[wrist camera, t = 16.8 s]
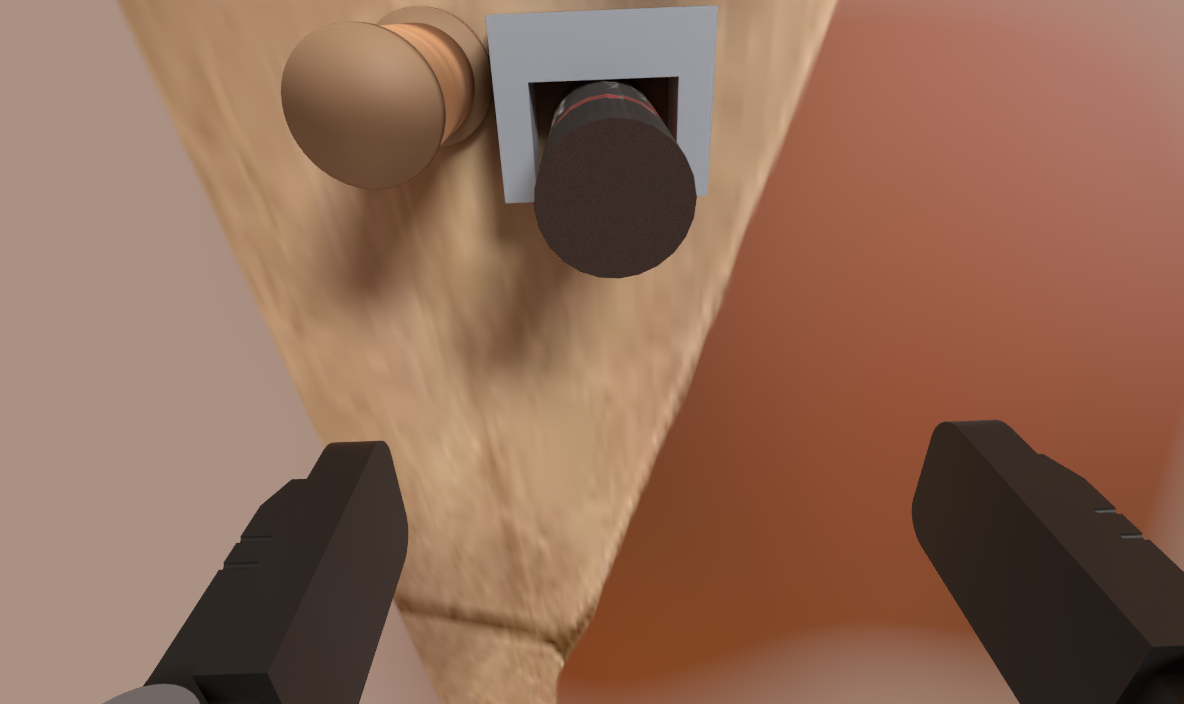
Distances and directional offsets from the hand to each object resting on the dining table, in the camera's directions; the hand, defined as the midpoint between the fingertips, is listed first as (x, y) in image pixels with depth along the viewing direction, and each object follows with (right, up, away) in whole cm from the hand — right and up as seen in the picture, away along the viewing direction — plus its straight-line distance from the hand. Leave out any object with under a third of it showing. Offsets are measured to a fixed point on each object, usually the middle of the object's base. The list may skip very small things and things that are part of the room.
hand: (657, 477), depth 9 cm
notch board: (0, +16, +25) cm, 30 cm away
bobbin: (-10, +17, +25) cm, 32 cm away
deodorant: (0, +15, +26) cm, 30 cm away
